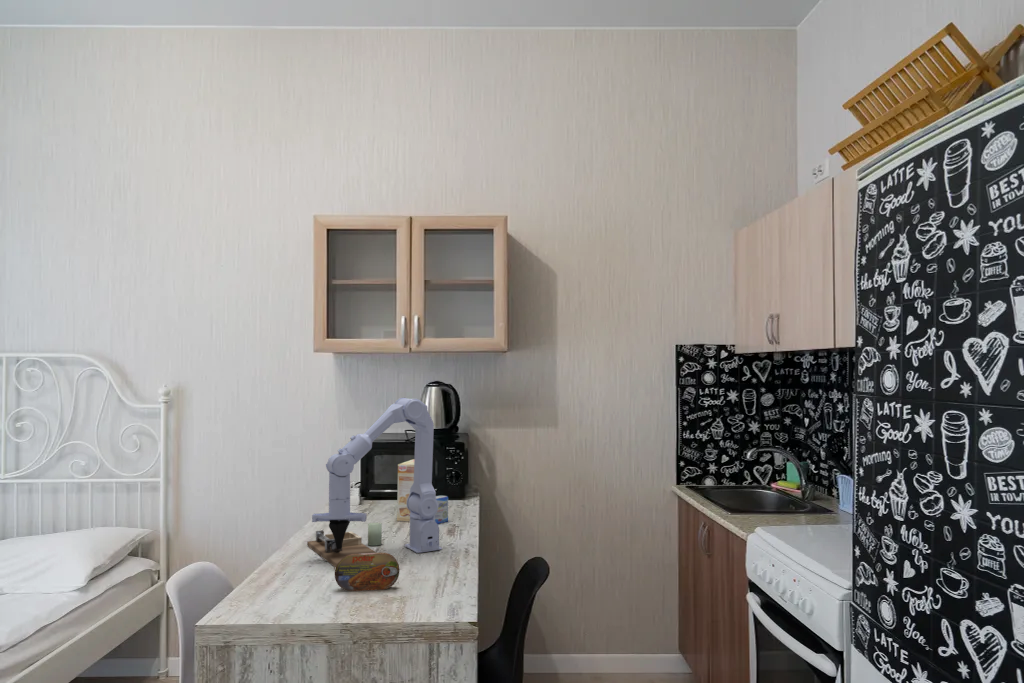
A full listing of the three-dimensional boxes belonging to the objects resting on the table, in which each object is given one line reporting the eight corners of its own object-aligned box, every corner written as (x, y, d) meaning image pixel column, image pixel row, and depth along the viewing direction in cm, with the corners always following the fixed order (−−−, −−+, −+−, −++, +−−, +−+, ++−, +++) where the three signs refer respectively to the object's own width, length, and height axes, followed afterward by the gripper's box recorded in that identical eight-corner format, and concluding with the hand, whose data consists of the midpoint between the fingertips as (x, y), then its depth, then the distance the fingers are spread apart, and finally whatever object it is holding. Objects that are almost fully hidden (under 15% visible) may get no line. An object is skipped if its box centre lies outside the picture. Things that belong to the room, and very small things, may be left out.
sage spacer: (384, 544, 207) (384, 523, 208) (372, 546, 204) (372, 525, 205) (376, 542, 210) (377, 522, 210) (365, 544, 207) (365, 523, 208)
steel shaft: (341, 552, 193) (341, 542, 193) (332, 553, 191) (332, 543, 191) (324, 540, 206) (324, 531, 206) (316, 541, 205) (316, 532, 205)
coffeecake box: (415, 522, 237) (416, 464, 238) (396, 521, 239) (396, 464, 240) (429, 513, 252) (430, 459, 253) (410, 512, 254) (411, 458, 254)
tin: (334, 592, 163) (334, 555, 163) (335, 588, 166) (336, 552, 167) (399, 589, 165) (399, 553, 165) (399, 585, 168) (399, 550, 169)
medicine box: (432, 525, 232) (432, 499, 233) (422, 523, 235) (423, 498, 235) (448, 521, 239) (448, 496, 239) (439, 520, 241) (439, 494, 242)
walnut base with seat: (385, 562, 188) (385, 550, 188) (338, 569, 181) (338, 557, 181) (350, 540, 212) (350, 529, 212) (307, 545, 205) (307, 534, 206)
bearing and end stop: (342, 550, 195) (342, 538, 195) (326, 552, 193) (326, 540, 193) (326, 539, 207) (326, 528, 208) (311, 541, 205) (311, 530, 205)
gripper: (368, 495, 196) (368, 544, 195) (316, 495, 195) (316, 544, 195) (363, 499, 189) (363, 550, 188) (310, 500, 188) (309, 551, 188)
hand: (339, 547), depth 191 cm, fingers closed
